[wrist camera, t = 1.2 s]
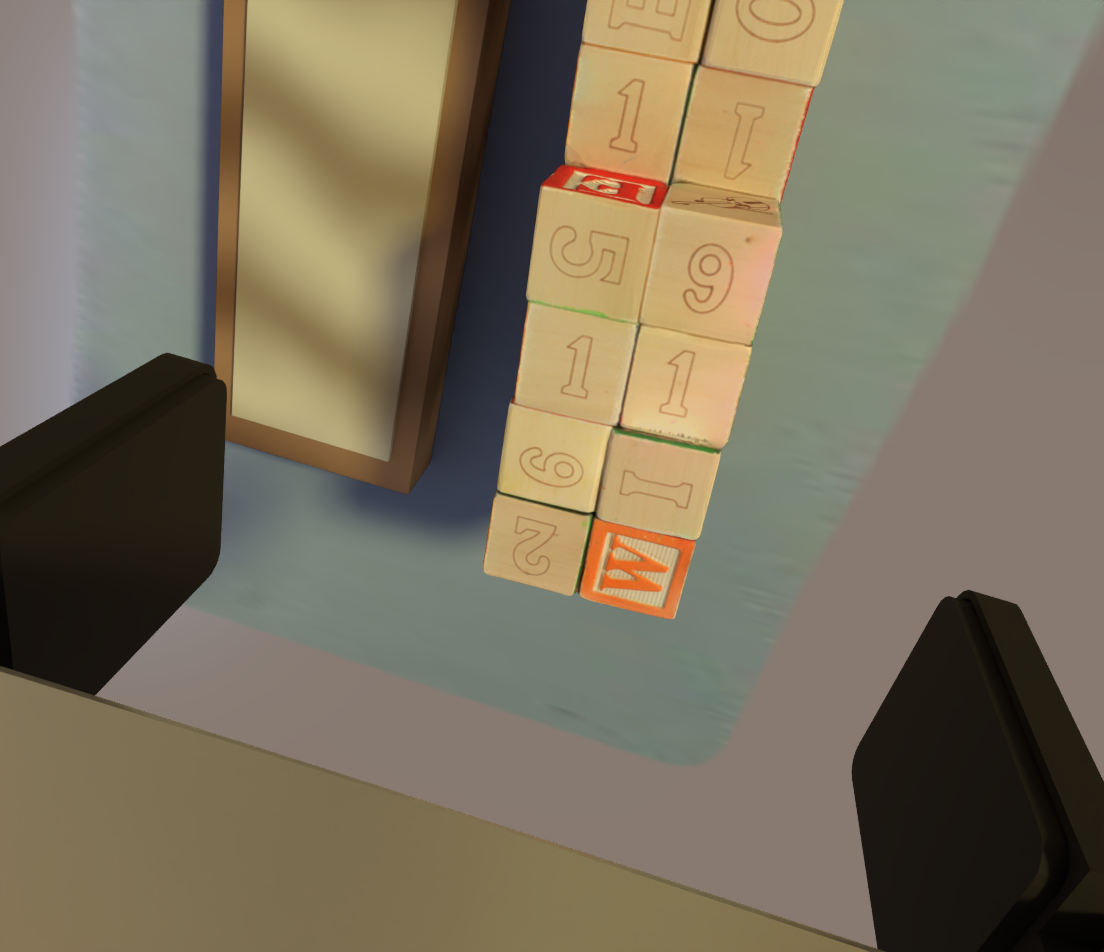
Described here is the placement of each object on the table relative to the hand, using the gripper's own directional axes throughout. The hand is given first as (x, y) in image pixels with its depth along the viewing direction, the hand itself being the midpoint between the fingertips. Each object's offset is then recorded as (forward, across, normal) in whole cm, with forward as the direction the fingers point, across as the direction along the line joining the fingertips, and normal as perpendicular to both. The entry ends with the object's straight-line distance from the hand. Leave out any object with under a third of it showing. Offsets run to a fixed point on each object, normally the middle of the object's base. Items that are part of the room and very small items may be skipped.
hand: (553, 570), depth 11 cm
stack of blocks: (+25, 0, -1) cm, 25 cm away
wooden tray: (+25, +12, 0) cm, 27 cm away
